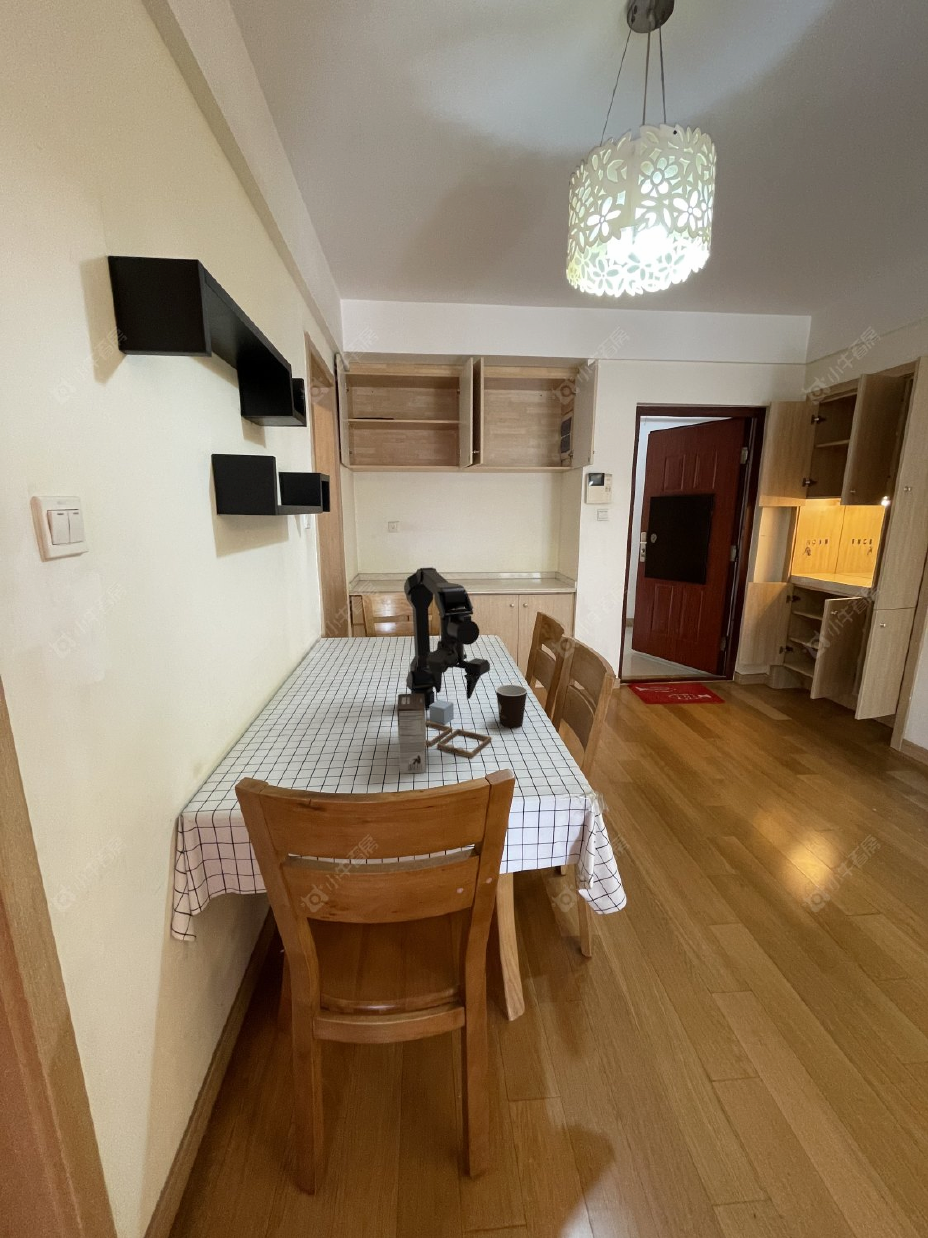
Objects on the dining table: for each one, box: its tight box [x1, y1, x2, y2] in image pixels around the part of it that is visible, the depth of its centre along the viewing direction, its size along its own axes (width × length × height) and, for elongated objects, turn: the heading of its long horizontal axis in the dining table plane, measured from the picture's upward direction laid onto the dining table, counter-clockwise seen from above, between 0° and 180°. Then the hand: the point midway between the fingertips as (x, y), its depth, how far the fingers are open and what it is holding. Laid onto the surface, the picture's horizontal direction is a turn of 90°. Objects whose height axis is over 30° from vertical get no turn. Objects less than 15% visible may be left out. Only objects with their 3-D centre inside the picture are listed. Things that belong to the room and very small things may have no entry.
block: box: [428, 699, 455, 726], centre depth 139 cm, size 5×5×5 cm
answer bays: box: [426, 720, 492, 759], centre depth 127 cm, size 22×11×2 cm, turn 60°
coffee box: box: [396, 693, 427, 774], centre depth 113 cm, size 9×6×16 cm
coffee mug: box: [495, 684, 528, 729], centre depth 137 cm, size 12×9×10 cm
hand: (453, 695), depth 124 cm, fingers open, 9 cm apart
